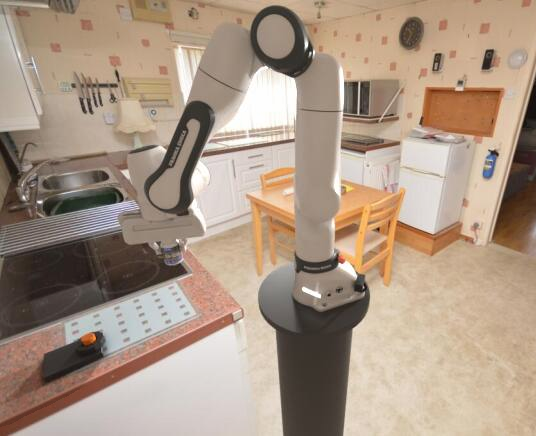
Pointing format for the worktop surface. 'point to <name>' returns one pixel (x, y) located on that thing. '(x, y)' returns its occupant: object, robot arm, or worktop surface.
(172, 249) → the pill bottle
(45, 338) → the worktop surface
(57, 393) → the worktop surface
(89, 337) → the tare button
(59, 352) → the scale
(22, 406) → the worktop surface
